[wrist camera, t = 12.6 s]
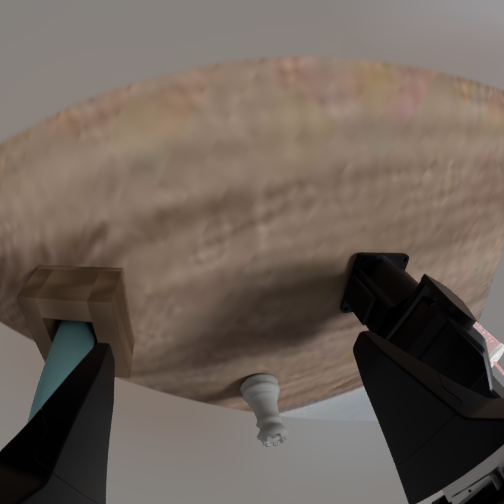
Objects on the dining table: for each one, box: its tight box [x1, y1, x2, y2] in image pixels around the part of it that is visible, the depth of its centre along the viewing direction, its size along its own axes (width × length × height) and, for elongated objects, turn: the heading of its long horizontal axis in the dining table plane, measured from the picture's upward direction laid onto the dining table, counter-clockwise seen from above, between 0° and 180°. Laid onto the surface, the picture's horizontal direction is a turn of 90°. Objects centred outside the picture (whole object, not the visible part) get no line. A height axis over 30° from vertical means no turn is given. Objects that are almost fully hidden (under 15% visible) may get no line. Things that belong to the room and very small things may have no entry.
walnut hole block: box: [17, 266, 134, 378], centre depth 20 cm, size 8×8×4 cm
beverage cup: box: [473, 322, 504, 375], centre depth 31 cm, size 6×6×14 cm
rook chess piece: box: [240, 374, 288, 447], centre depth 27 cm, size 4×4×8 cm
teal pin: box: [28, 320, 96, 422], centre depth 16 cm, size 3×3×13 cm
